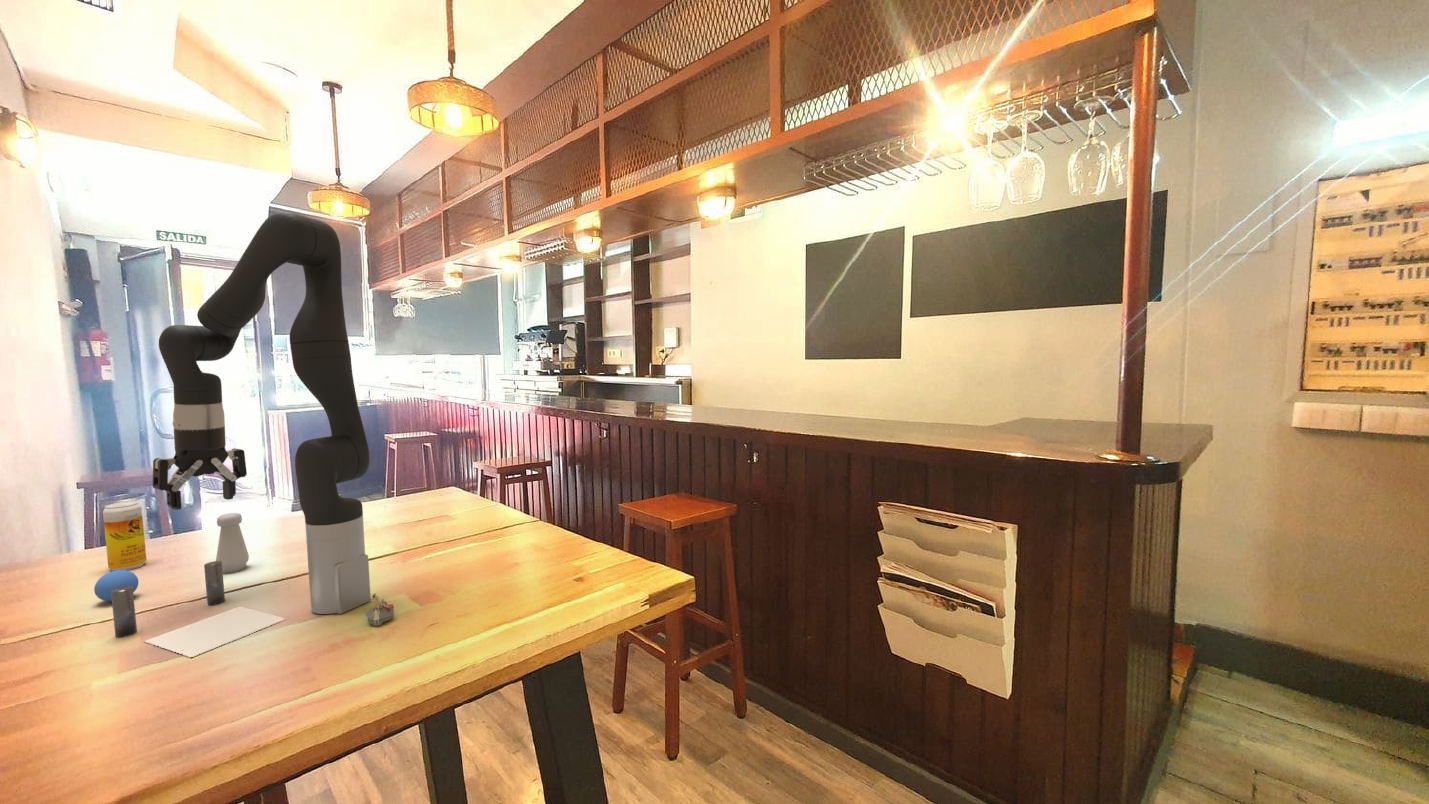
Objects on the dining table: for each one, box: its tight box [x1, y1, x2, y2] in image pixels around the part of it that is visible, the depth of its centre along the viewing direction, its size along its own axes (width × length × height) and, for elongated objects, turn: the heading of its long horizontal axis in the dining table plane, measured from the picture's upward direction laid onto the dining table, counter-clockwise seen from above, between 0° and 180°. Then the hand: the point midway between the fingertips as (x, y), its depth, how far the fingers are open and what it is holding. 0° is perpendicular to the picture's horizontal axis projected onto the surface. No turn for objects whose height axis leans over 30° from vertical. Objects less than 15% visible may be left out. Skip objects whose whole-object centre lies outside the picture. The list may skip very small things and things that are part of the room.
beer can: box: [102, 500, 147, 572], centre depth 127 cm, size 6×6×15 cm
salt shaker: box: [215, 512, 250, 574], centre depth 125 cm, size 6×6×13 cm
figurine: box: [365, 593, 395, 627], centre depth 100 cm, size 5×4×6 cm
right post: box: [203, 560, 226, 606], centre depth 108 cm, size 3×3×8 cm
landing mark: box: [143, 605, 287, 658], centre depth 97 cm, size 14×14×1 cm
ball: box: [93, 570, 139, 603], centre depth 110 cm, size 6×6×6 cm
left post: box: [111, 587, 138, 638], centre depth 96 cm, size 3×3×8 cm
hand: (203, 503), depth 112 cm, fingers open, 8 cm apart
